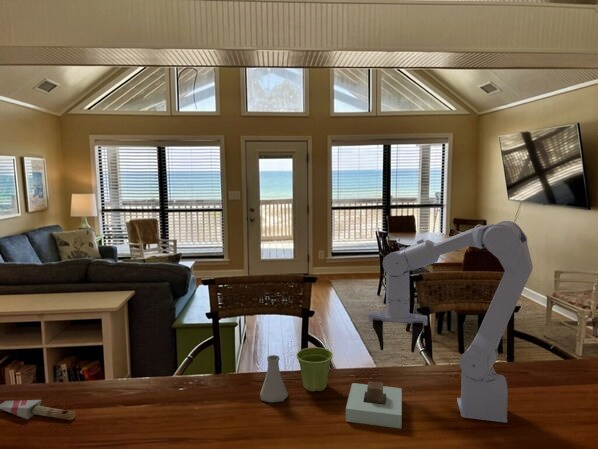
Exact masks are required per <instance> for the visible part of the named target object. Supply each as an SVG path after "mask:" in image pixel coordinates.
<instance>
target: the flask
mask: <svg viewBox="0 0 598 449" xmlns="http://www.w3.org/2000/svg"><path fill="white" fill-rule="evenodd" d="M266 360H267V362H268V363H267V370H266V374H265V378H264V382H263V384H262V387H261V390H260V392H259V398H260V400H261V401H263V402H267V403H271V404H272V403H279V402H280V403H281V402H284V401H285V399H286V400H287V398H288V396H289V393H288V391H287V389H286V386H285V383H284V380H283V378H282V374H281V371H280V370H281V369H280V365H279V361H280V355H275V354H270V355H268V356H267V357H266Z"/></svg>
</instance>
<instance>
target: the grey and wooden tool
mask: <svg viewBox="0 0 598 449" xmlns="http://www.w3.org/2000/svg"><path fill="white" fill-rule="evenodd" d="M41 403H42V399H26V400H25V399H23V400H21V399H20V400H5V401H3V402H2V403H0V410H2V411H4V412H7V413H10V414H12V415H15V416H17V417H20V418H23V419H25V420H29V419H30V417H31V418H32V417H34V416H35V415H37V416H43V417H49V418H55V419H60V420H63V419H64V420H65V421H67V420H68V421H72V420H75V418H76V415H77V413H76V411H72V410H65V409H60V408H59V409H58V408H53V407H49V406H48V407H47V406H43V405H41ZM33 415H34V416H33Z"/></svg>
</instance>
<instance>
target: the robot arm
mask: <svg viewBox="0 0 598 449" xmlns="http://www.w3.org/2000/svg"><path fill="white" fill-rule="evenodd" d="M467 247H473V248H478V249H480V250H481V249H484V248H486V250H487V251H488V252H489V253H491V254H492V255H493V256H494V257H495V258H497V259H498V261H499V263H500V265H501V266H502V268H503V270H504V272H503V274H502V277H501V279H500V282H499V284H498V286H497V288H496V291H495V293H494V294H493V296H492V297H493V298H492V300H491V302H490V304H489V307H488V309H487V311H486V313H485V316H484V318H483V320H482V322H481V324H480V326H479V329H478V331H477V333H476V335H475V337H474V339H473V340H472V342H471V343H470V344H469V347H468V348H467V349H466V351H464V353H462V354H461V356H460V358H459V360H458V361H459V367H460V370H461V376H460V378H461V382H460V385H461V386H460V389H461V390H460V397H457V398H456V401H457V405H458V409H459V410H458V411H459V412H460V416H461V418H465V419H471V420H472V419H473V420H481V421H488V422H489V421H490V422H497V423H505V424H506V423H508V394H509V393H508V382H507V379H506V377H505V376H504V375H503V374H497V372H496V370H495V368H494V364H495V363H496V362H497V361H498V357H499V352H498V348H499V345H500V342H501V339H502V337H503V334H504V332H505V330H506V328H507V326H508V324H509V321H510V320H511V317H512V315H513V312H514V311H515V309H516V307H517V304H518V301H519V300H520V298H521V296H522V294H523V292H524V289H525V288H526V285H527V283H528V281H529V278H530V276H531V274H532V271H533V262H532V261H533V260H532V256H531V254H530V250H529V249H530V248H529V245H528V237H527V236H526V234H525V233H524V231H523V229H522V228H521V227H520V226H519V225H518V224H517V223H515V222H514V221H510V220H503V221H500V222H498V223H496V224H494V223H492V224H487V225H481V226H479V227H478V226H477V227H474V228H471V229H468V230H465V231H463V232H460V233H458V234H455V235H453V236H449V237H447V238H445V239H442V240H440V241H437V242H434V241H432V240H429V239H426V240H424V239H423V238H422V239H419V240H416V243H415V244H413V245H410V246H407V247H406V246H402V247H400V248H399V250H397V251H393V252H390V253H389V254H387V255H386V256H384V258H383V260H382V267H383V270H384V272H385V274H386V278H385V279H386V282H385V287H386V288H385V291H386V292H385V293H386V294H385V304H386V305H385V311H380V312H379V311H377V312H374V311H373V312H371V311H370V312H368V322H369V323H370V322H371V323H372V328H373V330H374V332H375V333H376V337H377V340H378V344H379V347H380V348H379V349H380V351H384V343H385V342H384V323H395V324H397V323H398V324H411V342H410V351H411V354H414V353H415V351H416V350H415V349H416V345H417V343H418V340H419V337H420V336H421V334H422V333H423V330H424V326H428V315H423V314H415V313H410V271H415V270H418V269H420V268H424V267H427V266H430V265H432V264H433V265H434V264H435V263H437V262H438V261H439V259H440V257H441V256H442V255H445V254H448V253H451V252H454V251H458V250H461V249H464V248H467Z"/></svg>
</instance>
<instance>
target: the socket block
mask: <svg viewBox="0 0 598 449" xmlns="http://www.w3.org/2000/svg"><path fill="white" fill-rule="evenodd" d="M350 386H351V387H350V390H349V394H348V398H347V402H346V407H345V422H348V423H355V424H356V423H357V424H362V425H371V426H377V427H378V426H379V427H386V428H393V429H402V422H403V420H402V418H403V417H402V416H403V415H402V414H403V413H402V412H403V410H402V406H403V403H402V402H403V398H402V397H403V394H402V393H403V388H401V387H393V386H386V385H385V386H384V385H383V404H374V403H367V387H368V383H367V384H365V383H357V382H355V383H353V382H352V384H351V385H350Z"/></svg>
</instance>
